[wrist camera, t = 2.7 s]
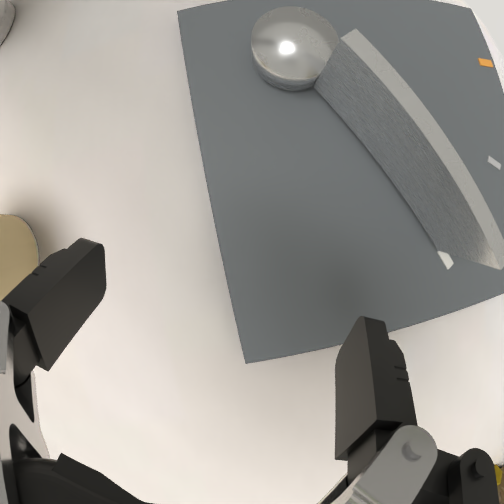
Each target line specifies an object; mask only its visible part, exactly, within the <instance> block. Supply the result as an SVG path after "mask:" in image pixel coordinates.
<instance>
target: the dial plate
mask: <svg viewBox="0 0 504 504" xmlns="http://www.w3.org/2000/svg"><path fill="white" fill-rule="evenodd" d="M286 6H294V7H302V8H306V9H309V10H311V11H314V12H316V13H318V14H319V15H321V16H322V17H324V18H325V19H326V20H327V21H328V22H329V23H330V24H331V25H332V26H333V28H334V29H335V31H336V33H337V35H338V39H339V40H340V38H341V37H343V36H344V35H346V34H348V33H349V32H351V31H352V30H354V29H357V30H358V31H359V32H360V33H361V34H362V35H363V36H364V37H365V38H366V39H367V40H368V41H369V42H370V43H371V44H372V45H373V46H374V47H375V48H376V49H377V50H378V51H379V52H380V54H381V55H382V56H383V57H384V58H385V59H386V60H387V61H388V62H389V63H390V65H391V66H392V67H393V68H394V69H395V70H396V71H397V73H398V74H399V75H400V76H401V77H402V78H403V80H404V81H405V82H406V83H407V84H408V86H409V87H410V88H411V89H412V91H413V92H414V93H415V94H416V96H417V97H418V98H419V99H420V101H421V102H422V103H423V105H424V106H425V107H426V109H427V110H428V111H429V113H430V114H431V115H432V117H433V118H434V119H435V121H436V122H437V124H438V125H439V126H440V128H441V129H442V131H443V132H444V134H445V135H446V137H447V138H448V140H449V141H450V143H451V144H452V146H453V147H454V149H455V150H456V152H457V153H458V155H459V157H460V158H461V160H462V161H463V163H464V165H465V166H466V168H467V170H468V171H469V173H470V175H471V176H472V178H473V180H474V182H475V183H476V185H477V187H478V189H479V191H480V193H481V194H482V196H483V198H484V200H485V202H486V204H487V206H488V208H489V210H490V212H491V214H492V216H493V218H494V220H495V222H496V224H497V226H498V228H499V230H500V232H501V235H502V237H503V239H504V93H503V89H502V86H501V83H500V80H499V77H498V74H497V71H496V68H495V65H494V62H493V59H492V57H491V54H490V51H489V49H488V46H487V44H486V41H485V39H484V36H483V34H482V32H481V29H480V27H479V25H478V23H477V20H476V18H475V16H474V14H473V12H472V10H471V9H470V8H466V7H462V6H457V5H453V4H448V3H443V2H438V1H432V0H228V1H222V2H217V3H211V4H207V5H202V6H197V7H193V8H188V9H184V10H180V11H177V14H178V21H179V27H180V34H181V40H182V46H183V53H184V59H185V65H186V71H187V77H188V83H189V89H190V94H191V100H192V106H193V112H194V117H195V123H196V128H197V134H198V139H199V145H200V150H201V155H202V161H203V166H204V171H205V177H206V182H207V187H208V192H209V197H210V202H211V207H212V212H213V217H214V222H215V227H216V232H217V237H218V241H219V246H220V251H221V256H222V260H223V265H224V270H225V274H226V279H227V284H228V288H229V293H230V297H231V302H232V306H233V311H234V315H235V320H236V324H237V329H238V333H239V337H240V342H241V346H242V350H243V355H244V359H245V363H246V364H247V363H253V362H259V361H265V360H270V359H276V358H281V357H286V356H291V355H296V354H301V353H306V352H311V351H315V350H320V349H324V348H329V347H333V346H337V345H341V344H343V343H344V342H345V340H346V338H347V336H348V335H349V333H350V331H351V329H352V327H353V326H354V324H355V322H356V320H357V319H358V318H359V317H360V316H365V317H369V318H373V319H377V320H382V321H384V322H385V324H386V328H387V333H388V332H391V331H395V330H398V329H402V328H405V327H408V326H412V325H415V324H418V323H421V322H425V321H428V320H431V319H434V318H437V317H440V316H443V315H446V314H449V313H452V312H455V311H458V310H461V309H464V308H466V307H469V306H472V305H475V304H477V303H480V302H483V301H485V300H488V299H491V298H493V297H496V296H498V295H501V294H503V293H504V267H503V268H502V270H499V269H496V268H493V267H489V266H486V265H483V264H480V263H477V262H474V261H471V260H467V259H464V258H461V257H458V256H454V255H451V254H448V253H444V252H441V251H438V250H437V248H436V246H435V245H434V243H433V241H432V240H431V238H430V237H429V235H428V233H427V232H426V230H425V229H424V227H423V226H422V224H421V223H420V221H419V219H418V218H417V216H416V215H415V213H414V212H413V210H412V209H411V208H410V206H409V205H408V203H407V202H406V200H405V199H404V197H403V196H402V194H401V193H400V192H399V190H398V189H397V187H396V186H395V185H394V183H393V182H392V181H391V179H390V178H389V176H388V175H387V174H386V172H385V171H384V170H383V168H382V167H381V166H380V164H379V163H378V162H377V161H376V159H375V158H374V157H373V155H372V154H371V153H370V152H369V150H368V149H367V148H366V147H365V145H364V144H363V143H362V142H361V140H360V139H359V138H358V137H357V136H356V134H355V133H354V132H353V131H352V130H351V128H350V127H349V126H348V125H347V124H346V122H345V121H344V120H343V119H342V118H341V117H340V116H339V114H338V113H337V112H336V111H335V110H334V109H333V108H332V106H331V105H330V104H329V103H328V102H327V101H326V100H325V99H324V98H323V97H322V95H321V94H320V93H319V92H318V91H317V90H316V89H315V88H314V87H312V88H309V89H306V90H301V91H288V90H283V89H279V88H277V87H274V86H272V85H270V84H269V83H267V82H266V81H264V80H263V79H262V78H261V77H260V76H259V75H258V73H257V72H256V70H255V68H254V66H253V63H252V58H251V35H252V30H253V27H254V25H255V23H256V22H257V20H258V19H259V18H260V17H261V16H262V15H264V14H265V13H267V12H269V11H270V10H273V9H276V8H280V7H286Z"/></svg>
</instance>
